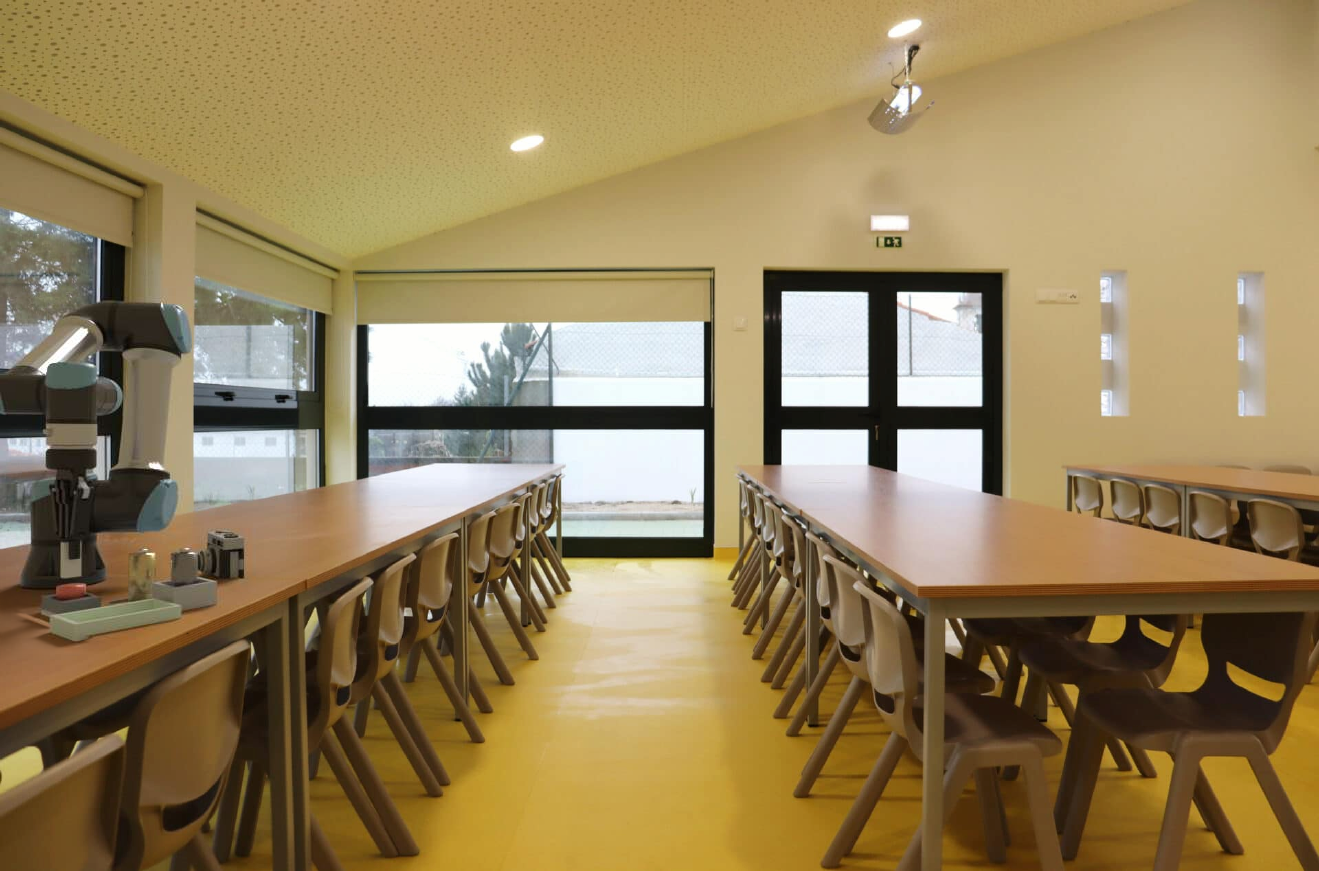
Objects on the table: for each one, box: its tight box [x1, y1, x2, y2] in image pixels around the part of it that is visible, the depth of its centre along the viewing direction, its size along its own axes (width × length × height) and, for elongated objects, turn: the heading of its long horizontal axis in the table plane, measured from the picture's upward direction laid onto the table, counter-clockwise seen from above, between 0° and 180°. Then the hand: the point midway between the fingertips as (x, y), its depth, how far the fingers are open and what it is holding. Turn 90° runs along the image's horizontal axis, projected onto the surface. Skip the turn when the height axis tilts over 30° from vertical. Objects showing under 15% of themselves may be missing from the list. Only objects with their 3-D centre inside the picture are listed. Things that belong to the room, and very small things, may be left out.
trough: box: [49, 598, 182, 642], centre depth 141 cm, size 10×17×3 cm, turn 147°
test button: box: [55, 583, 87, 599], centre depth 147 cm, size 4×4×2 cm
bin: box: [152, 576, 218, 612], centre depth 154 cm, size 8×8×5 cm
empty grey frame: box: [109, 597, 129, 604], centre depth 156 cm, size 8×10×1 cm
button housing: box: [40, 592, 102, 618], centre depth 147 cm, size 9×7×4 cm
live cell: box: [128, 548, 157, 603], centre depth 156 cm, size 4×4×11 cm
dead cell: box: [170, 547, 199, 587], centre depth 154 cm, size 4×4×11 cm
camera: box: [198, 529, 245, 580], centre depth 184 cm, size 14×8×10 cm, turn 44°
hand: (71, 576), depth 147 cm, fingers closed
